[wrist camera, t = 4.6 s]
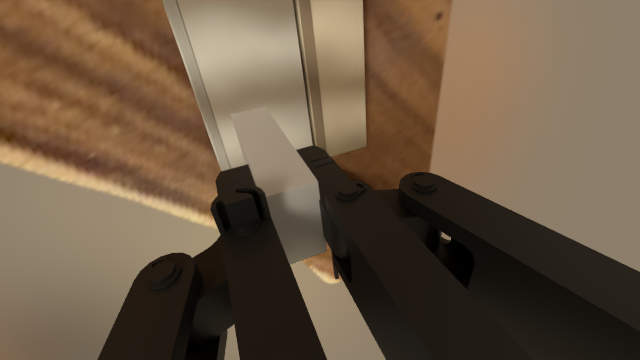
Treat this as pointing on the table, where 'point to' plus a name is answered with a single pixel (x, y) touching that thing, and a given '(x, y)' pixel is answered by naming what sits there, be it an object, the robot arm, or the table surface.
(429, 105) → the table surface
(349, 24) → the laid board
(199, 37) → the plank
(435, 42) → the table surface
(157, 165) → the table surface
